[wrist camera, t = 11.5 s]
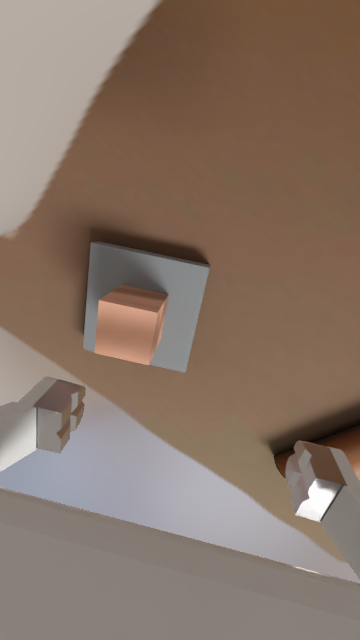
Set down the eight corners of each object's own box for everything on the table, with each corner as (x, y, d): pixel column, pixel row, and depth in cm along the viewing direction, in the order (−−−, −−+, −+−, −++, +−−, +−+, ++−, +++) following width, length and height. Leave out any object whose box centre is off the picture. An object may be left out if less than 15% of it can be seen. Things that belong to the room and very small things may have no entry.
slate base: (98, 241, 29) (90, 242, 28) (209, 264, 29) (209, 267, 27) (90, 341, 34) (82, 349, 32) (187, 364, 33) (185, 372, 31)
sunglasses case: (302, 497, 38) (303, 524, 32) (275, 445, 40) (271, 462, 34) (446, 448, 33) (480, 469, 27) (406, 392, 35) (430, 400, 29)
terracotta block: (121, 284, 29) (98, 300, 23) (168, 294, 28) (157, 312, 23) (116, 328, 30) (94, 352, 25) (161, 338, 30) (148, 365, 25)
